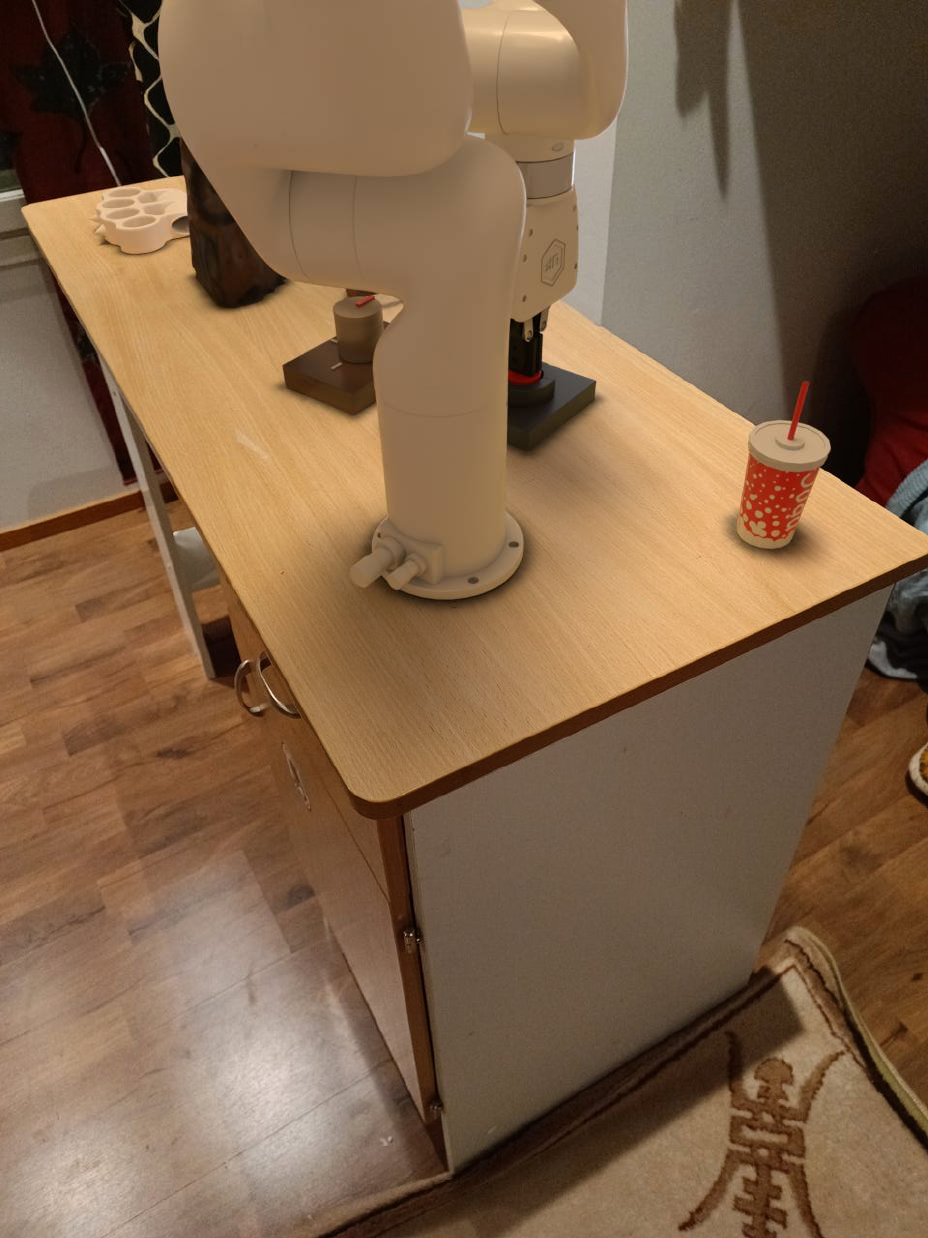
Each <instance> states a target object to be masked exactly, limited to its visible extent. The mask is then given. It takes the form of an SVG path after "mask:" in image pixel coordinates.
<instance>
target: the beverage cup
mask: <svg viewBox="0 0 928 1238" xmlns="http://www.w3.org/2000/svg"><path fill="white" fill-rule="evenodd" d="M809 385H810V382H809V381H807V380H803V381H802V383H801V387H800V390H799V393H798V397H797V402H796V405H795V408H794V412H793V416H792V419H791V420H783V419H775V420H770V421H764V422H762V423H760V424H758V425H755V426H754V427H753V428H752V430H751V431H750V433H749V434H748V440H747V450H748V452H749V453H748V457H747V464H746V469H745V476H744V481H743V486H742V492H741V499H740V504H739V510H738V517H737V523H736V533H737V534H738V536H739V537H740V539H741V540H743V541H744V542H746V543H747V544H749V545H750V546H754V547H756V548H759V549H769V550H773V549H781V548H783V547H785V546H787V545H789V544H790V542H791V540H792V539H793V537H794V534H795V532H796V530H797V526H798V524H799V522H800V519H801V516H802V514H803V511H804V509H805V507H806V504H807V502H808V499H809V496H810V495H811V491H812V489H813V487H814V483H815V481H816V480H817V479H816V478H817V476H818V473H819V472H820V470H821V467H822V466H823V465H824V464H825V462H826V461H827V459H828V456H829V454H830V452H831V450H832V448H831V443H830V440H829V438H828V437H827V436H826V435H825V434H824V433H823V432H822V431H820V430H819V429H818V428H816V427H813V426H811V425H809V424H806V423H802V422H799V421H800V418H801V414H802V410H803V407H804V404H805V400H806V397H807V392H808V389H809V387H810V386H809Z"/></svg>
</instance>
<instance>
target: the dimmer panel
mask: <svg viewBox="0 0 928 1238" xmlns="http://www.w3.org/2000/svg"><path fill="white" fill-rule="evenodd" d="M389 324H390V322H389V321H386V320H383V325H384V330H385V329H386V327H387V326H388V325H389ZM281 367H282V373H283V379H284V385H285V388H289V389H290V390H293V391H295V392H298V393H301V394H302V395H305V396H308V397H310V398H312V399H314V400H317V401H319V402H321V403H324V404H326V405H329V406H331V407H334V408H335V409H338V410H341V411H343V412H345V413H348V414H350V415H352V416H356V415H357V414H359V413H361V412H362V411H364V410H365V409H367V408H368V407H370V406H372V405H373V404H375V403H376V392H375V388H374V378H373V362H368V363H351V362H347V361H345V360H343V359H342V358H341V357H340V356H339V352H338V344H337V336H336V335H335V336H333V337H331V338H329V339H328V340H326V341H324V342H322V343H320V344H319V345H316V346H315V347H313V348H311V349H310V350H307V351H305V352H304V353H302V354H300V355H298V356H296V357H294V358H293V359H290V360H289V361H287V362H285V363H284V364H282V365H281Z"/></svg>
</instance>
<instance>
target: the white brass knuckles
mask: <svg viewBox="0 0 928 1238" xmlns="http://www.w3.org/2000/svg"><path fill="white" fill-rule="evenodd" d="M88 220H90V221H92V222H94V223H97V224H99V225H100V226H99V227H98V228H97V229H96V230H95V231H94V232H93V234H94V235H100V236H104V239H105V241H107V242H108V243H110V244H111V245H115V246H119V247H120V251H121V252H123V253H125V254H131V255H141V254H149V253H152V252H155V251H158V250H159V249H162V248H163V247H164V246H165V244H166V243H167V242H169V241H171V240H174V239H179V238H185V237H188V236H190V234H189V224H188V215H187V192H186V191H183V190H181V189H179V188H177V187H175V188H173V187H172V188H171V187H163V188H157V189H143V188H142V187H138V186H121V187H115V188H112V189H108V190H106V191H104V192H103V193H102V194H101V201H100V202H98V203H97V205H96V207H95V214H92V216H91V217H89V218H88Z"/></svg>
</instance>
